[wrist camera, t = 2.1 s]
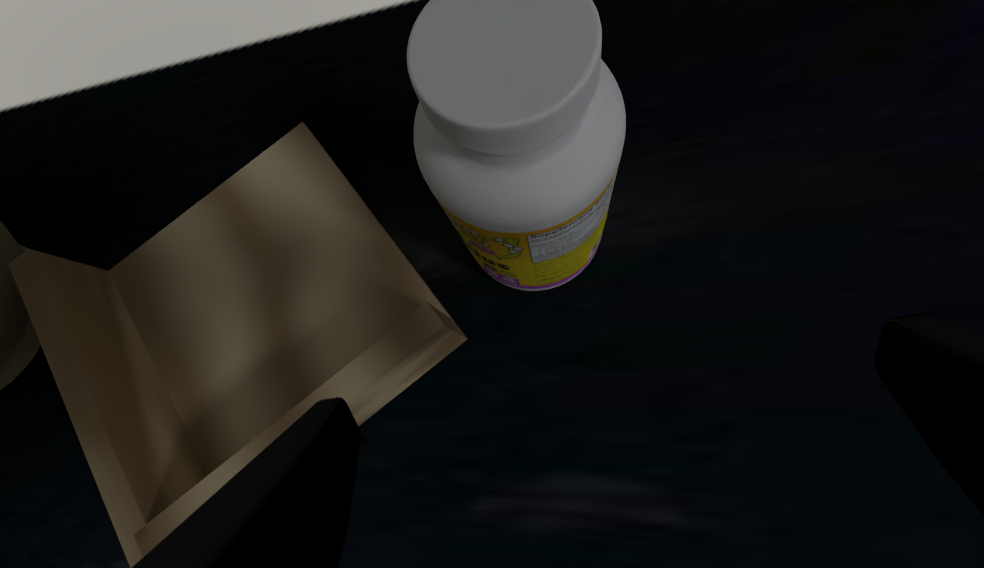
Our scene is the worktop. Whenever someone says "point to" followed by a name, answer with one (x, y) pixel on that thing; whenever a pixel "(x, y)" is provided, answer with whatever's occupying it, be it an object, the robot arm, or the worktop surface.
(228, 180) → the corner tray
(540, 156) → the supplement bottle
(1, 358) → the planter bowl
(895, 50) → the worktop surface
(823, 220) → the worktop surface
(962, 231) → the worktop surface
